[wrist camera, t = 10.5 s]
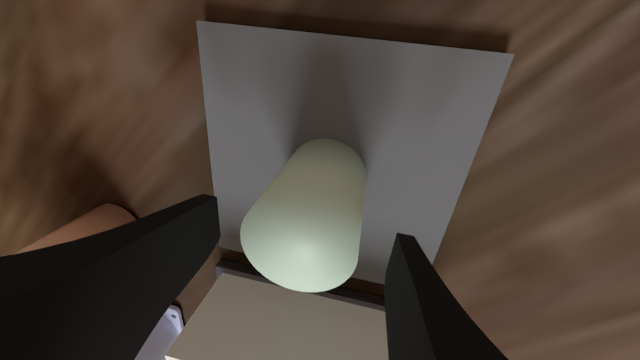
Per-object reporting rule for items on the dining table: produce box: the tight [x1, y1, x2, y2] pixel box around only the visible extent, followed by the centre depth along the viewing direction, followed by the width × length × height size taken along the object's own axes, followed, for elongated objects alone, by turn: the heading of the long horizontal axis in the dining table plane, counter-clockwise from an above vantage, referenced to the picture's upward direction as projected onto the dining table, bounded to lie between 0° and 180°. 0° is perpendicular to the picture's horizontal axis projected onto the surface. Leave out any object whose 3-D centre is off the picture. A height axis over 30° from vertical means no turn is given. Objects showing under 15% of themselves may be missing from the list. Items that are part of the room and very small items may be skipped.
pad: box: [196, 20, 515, 285], centre depth 15 cm, size 14×14×1 cm
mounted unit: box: [165, 259, 389, 360], centre depth 18 cm, size 4×15×7 cm, turn 84°
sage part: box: [240, 138, 367, 292], centre depth 12 cm, size 4×4×6 cm
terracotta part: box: [14, 203, 136, 254], centre depth 19 cm, size 4×4×6 cm
